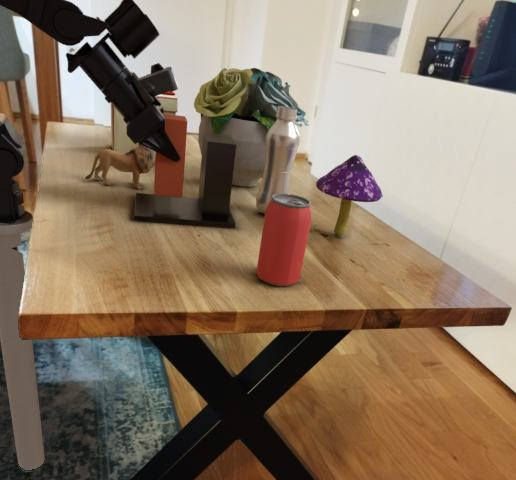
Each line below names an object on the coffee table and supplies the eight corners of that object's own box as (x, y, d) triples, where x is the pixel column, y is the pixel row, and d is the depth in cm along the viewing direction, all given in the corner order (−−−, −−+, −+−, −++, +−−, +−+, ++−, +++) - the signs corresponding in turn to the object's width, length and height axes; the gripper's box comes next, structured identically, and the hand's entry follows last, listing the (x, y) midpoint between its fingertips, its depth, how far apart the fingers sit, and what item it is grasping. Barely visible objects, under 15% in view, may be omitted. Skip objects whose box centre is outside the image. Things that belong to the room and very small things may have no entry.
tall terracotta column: (154, 195, 91) (157, 117, 84) (154, 187, 96) (157, 112, 90) (182, 198, 92) (187, 121, 86) (180, 189, 97) (185, 116, 91)
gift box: (161, 146, 144) (163, 78, 135) (179, 163, 130) (183, 89, 121) (98, 142, 137) (97, 71, 128) (111, 160, 123) (110, 81, 114)
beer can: (285, 292, 72) (301, 210, 66) (247, 277, 75) (258, 196, 69) (306, 279, 78) (322, 201, 71) (269, 265, 80) (282, 189, 74)
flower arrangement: (253, 168, 137) (267, 66, 124) (310, 196, 120) (332, 81, 107) (169, 168, 124) (174, 54, 111) (219, 200, 107) (232, 69, 94)
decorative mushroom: (300, 238, 94) (317, 153, 86) (312, 220, 104) (328, 143, 96) (367, 253, 92) (390, 168, 84) (372, 233, 102) (393, 156, 94)
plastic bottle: (257, 206, 107) (272, 103, 96) (289, 213, 106) (307, 109, 96) (251, 215, 101) (266, 106, 91) (284, 221, 100) (303, 112, 90)
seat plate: (134, 221, 89) (135, 136, 82) (135, 197, 100) (136, 121, 93) (235, 228, 93) (245, 148, 86) (225, 205, 104) (233, 133, 97)
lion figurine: (156, 183, 111) (158, 140, 106) (158, 190, 106) (159, 146, 102) (85, 178, 107) (84, 132, 102) (84, 185, 102) (82, 138, 98)
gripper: (150, 47, 73) (218, 136, 82) (149, 42, 89) (207, 117, 97) (95, 99, 76) (166, 181, 84) (103, 85, 91) (163, 155, 99)
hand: (177, 156), depth 91 cm, fingers closed on tall terracotta column, 6 cm apart
